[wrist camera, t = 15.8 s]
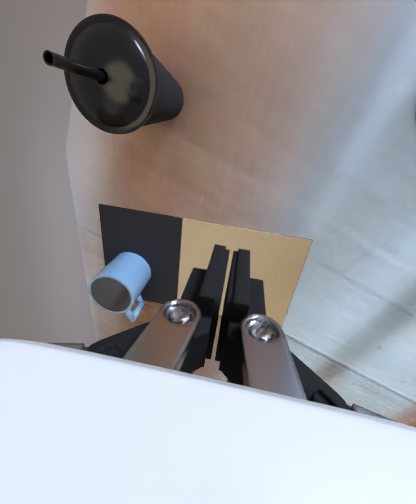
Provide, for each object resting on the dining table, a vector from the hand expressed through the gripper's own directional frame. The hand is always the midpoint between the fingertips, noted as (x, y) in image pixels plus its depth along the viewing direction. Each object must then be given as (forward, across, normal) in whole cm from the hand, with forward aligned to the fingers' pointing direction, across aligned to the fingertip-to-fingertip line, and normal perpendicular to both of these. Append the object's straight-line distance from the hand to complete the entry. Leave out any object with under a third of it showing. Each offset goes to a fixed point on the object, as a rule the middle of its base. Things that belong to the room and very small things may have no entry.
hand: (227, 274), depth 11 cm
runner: (+25, +5, +16) cm, 30 cm away
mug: (+25, +16, +20) cm, 36 cm away
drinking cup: (+25, +12, -8) cm, 29 cm away
